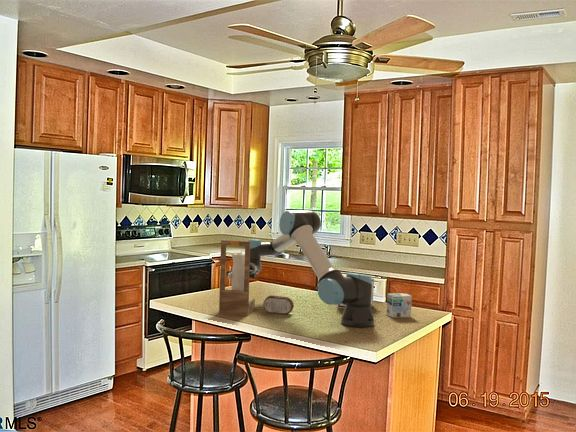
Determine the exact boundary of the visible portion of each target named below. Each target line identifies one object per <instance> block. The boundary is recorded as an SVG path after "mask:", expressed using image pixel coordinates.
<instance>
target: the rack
mask: <svg viewBox="0 0 576 432" xmlns="http://www.w3.org/2000/svg"><path fill="white" fill-rule="evenodd" d="M227 245H228V246H232V247H236V246H237V247H239V246H241V247H242V246H244V250H245V251H244V254H245V263H244V265H245V268H244V291H239V290H232V289H226V272H227V271H226V269H227V267H226V266H227V265H226V262H227ZM219 263H220V266H219V267H220V269H219V300H218V301H219V303H218V305H219V309H218V314H221V315H232V316H244V317H246V316H247V317H248V316H249V315H250V314H251V313H252V312H253V311H255V310H256V309H255V308H256V307H255V305H256V304H255V303H256V302H255V301H256V298H252V299H249V298H250V278H249V273H250V241H248V240H235V239H234V240H233V239H231V240H229V239H221V240H220V262H219Z"/></svg>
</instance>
